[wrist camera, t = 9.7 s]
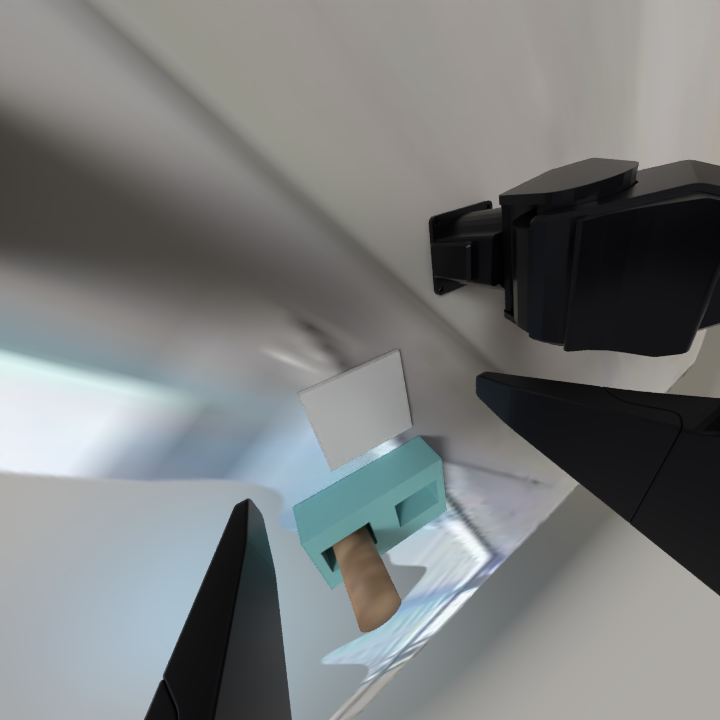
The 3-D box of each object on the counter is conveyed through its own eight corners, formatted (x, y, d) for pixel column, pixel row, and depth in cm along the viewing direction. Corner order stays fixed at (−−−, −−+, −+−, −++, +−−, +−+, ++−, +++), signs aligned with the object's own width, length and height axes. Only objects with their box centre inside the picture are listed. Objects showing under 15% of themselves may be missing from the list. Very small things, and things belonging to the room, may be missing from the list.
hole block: (419, 435, 31) (441, 458, 27) (426, 485, 36) (446, 510, 32) (292, 507, 26) (301, 544, 23) (320, 553, 31) (331, 589, 28)
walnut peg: (351, 493, 29) (397, 590, 21) (358, 512, 31) (404, 608, 23) (319, 512, 28) (354, 622, 20) (329, 530, 30) (365, 638, 22)
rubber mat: (396, 349, 24) (399, 350, 24) (409, 424, 29) (412, 426, 29) (297, 393, 22) (298, 395, 21) (329, 467, 26) (331, 471, 26)
